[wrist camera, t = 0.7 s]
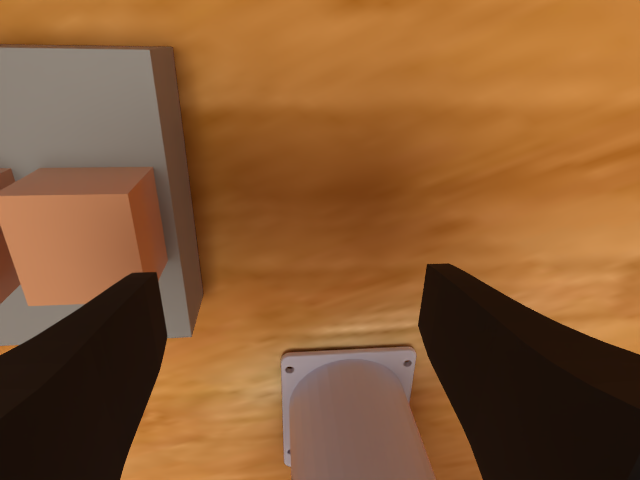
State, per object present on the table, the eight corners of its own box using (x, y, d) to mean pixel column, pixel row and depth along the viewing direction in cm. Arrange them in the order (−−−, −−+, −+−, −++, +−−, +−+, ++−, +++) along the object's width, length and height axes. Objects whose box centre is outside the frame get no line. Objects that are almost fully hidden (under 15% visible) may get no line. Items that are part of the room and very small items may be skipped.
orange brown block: (168, 260, 18) (148, 301, 15) (66, 263, 17) (28, 306, 14) (152, 166, 16) (127, 193, 13) (40, 167, 15) (-10, 196, 13)
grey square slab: (203, 294, 22) (191, 336, 19) (-39, 303, 21) (-93, 350, 18) (172, 46, 17) (149, 49, 14) (-150, 42, 16) (-253, 43, 13)
